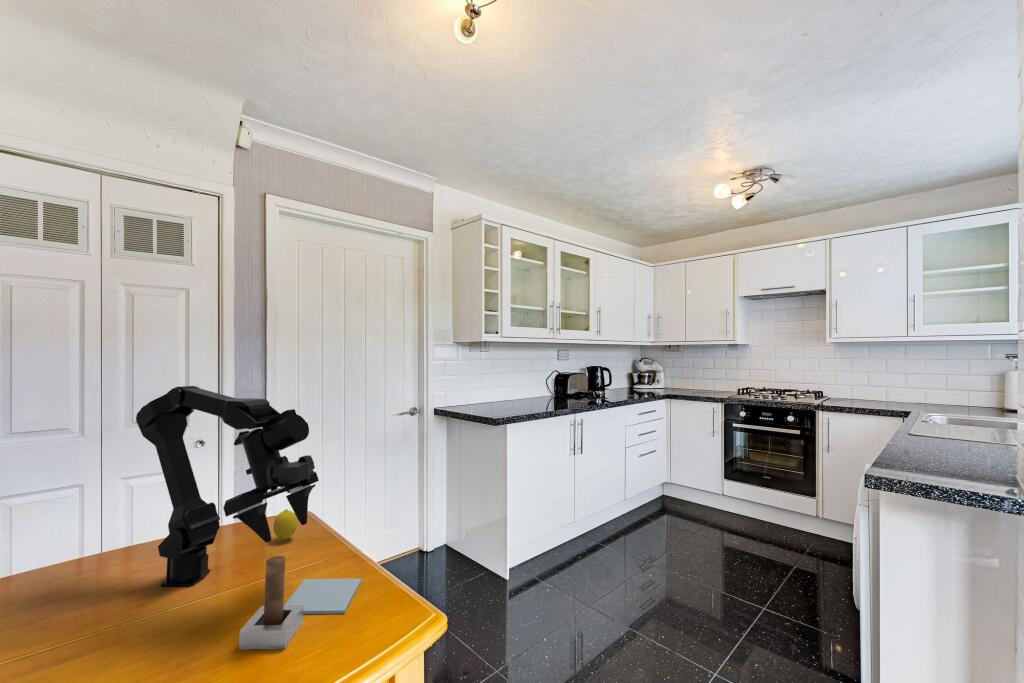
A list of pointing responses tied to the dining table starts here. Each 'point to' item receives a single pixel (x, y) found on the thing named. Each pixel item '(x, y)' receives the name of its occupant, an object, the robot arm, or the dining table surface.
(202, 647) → the dining table surface
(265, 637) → the collar
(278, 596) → the walnut rod
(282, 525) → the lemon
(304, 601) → the rubber mat
